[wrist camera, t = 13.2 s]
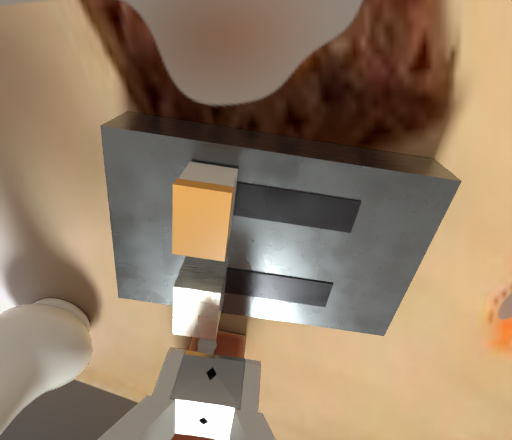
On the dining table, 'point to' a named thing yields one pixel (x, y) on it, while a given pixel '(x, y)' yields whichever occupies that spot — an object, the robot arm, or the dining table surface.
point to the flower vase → (40, 352)
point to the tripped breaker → (203, 211)
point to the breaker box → (272, 225)
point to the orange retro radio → (221, 346)
